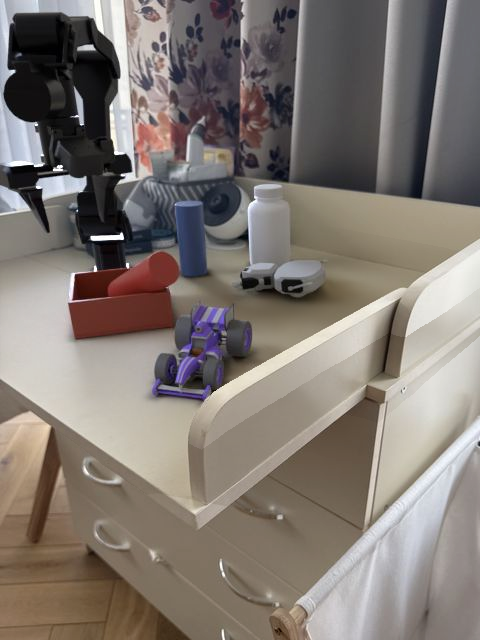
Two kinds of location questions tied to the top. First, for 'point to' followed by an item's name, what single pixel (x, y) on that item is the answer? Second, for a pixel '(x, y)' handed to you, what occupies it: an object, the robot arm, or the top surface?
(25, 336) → the top surface
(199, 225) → the blue pin
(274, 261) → the pill bottle
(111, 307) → the red bin
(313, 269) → the robot toy
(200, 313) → the toy race car
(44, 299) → the top surface
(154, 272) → the red pin
